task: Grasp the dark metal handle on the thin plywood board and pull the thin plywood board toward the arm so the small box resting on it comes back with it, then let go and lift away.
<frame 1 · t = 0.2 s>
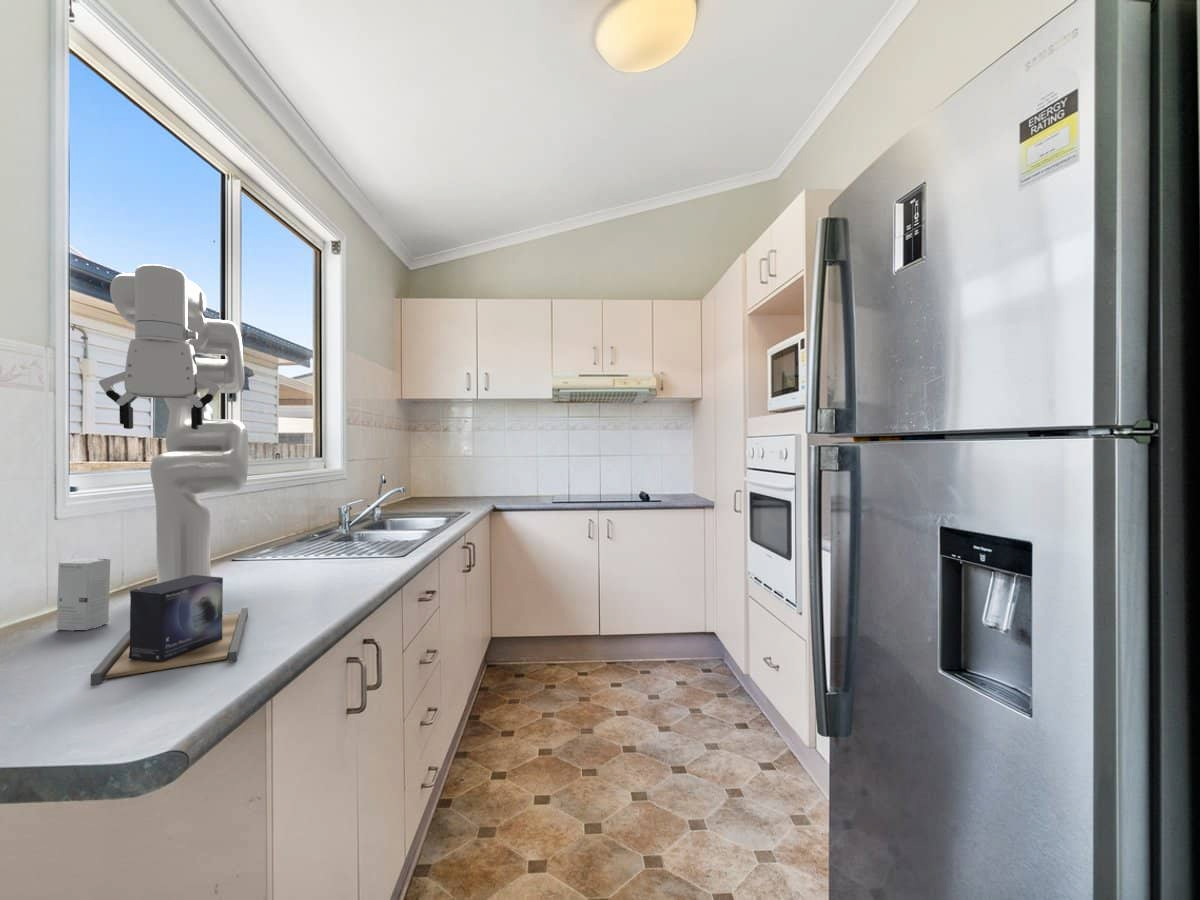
hand: (162, 428, 100), 36 cm above the countertop, tool pointing down, fingers open, 9 cm apart
thin plywood board: (183, 622, 90), point 3 cm above the countertop, slide at 0.2 cm, touching small box
small box: (178, 650, 85), resting on thin plywood board
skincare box: (84, 628, 98), on the countertop
guide rails: (182, 644, 90), on the countertop
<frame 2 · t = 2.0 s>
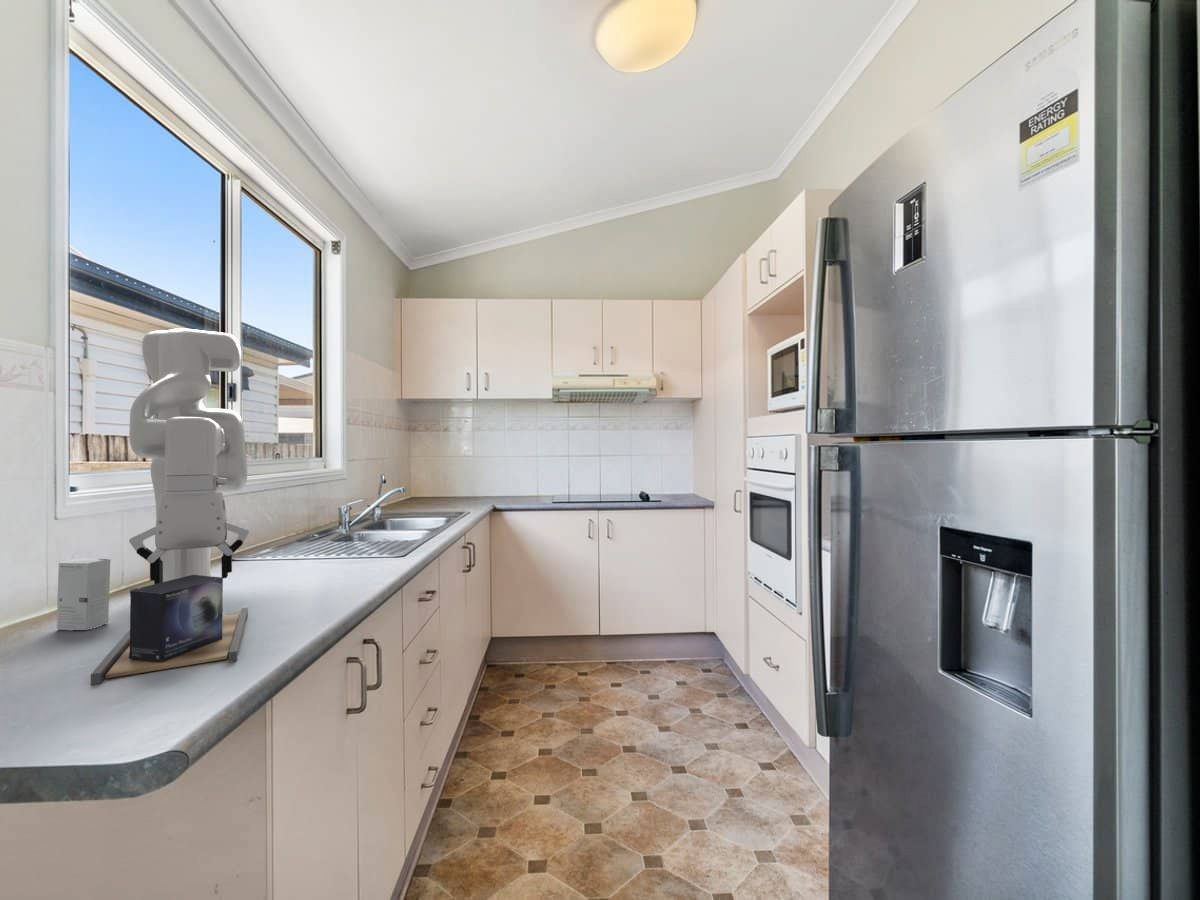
hand: (192, 580, 98), 8 cm above the countertop, tool pointing down, fingers open, 9 cm apart
nothing on the countertop moved.
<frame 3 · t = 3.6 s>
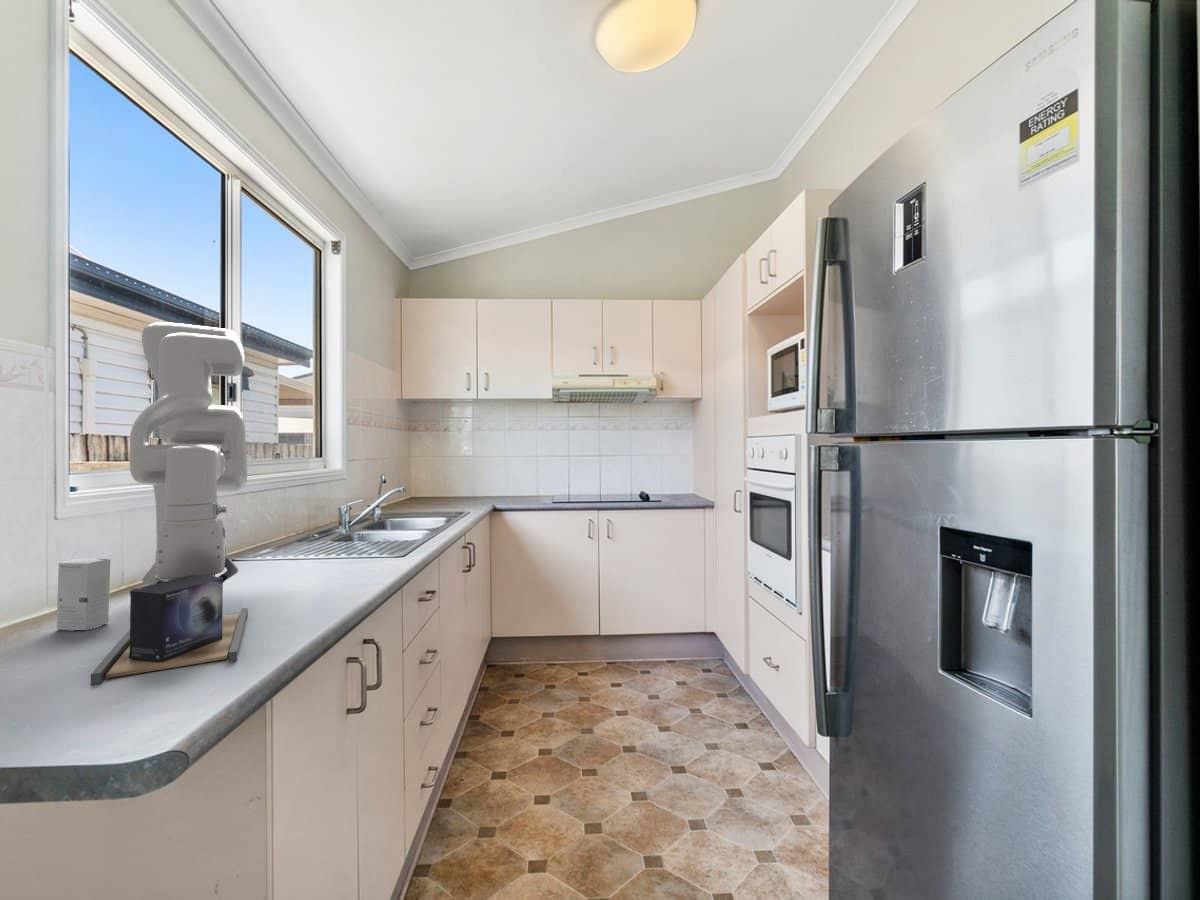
hand: (192, 613, 99), 2 cm above the countertop, tool pointing down, fingers closed on thin plywood board, 4 cm apart
thin plywood board: (183, 622, 90), point 3 cm above the countertop, slide at 0.3 cm, touching gripper, small box
everything else where it was.
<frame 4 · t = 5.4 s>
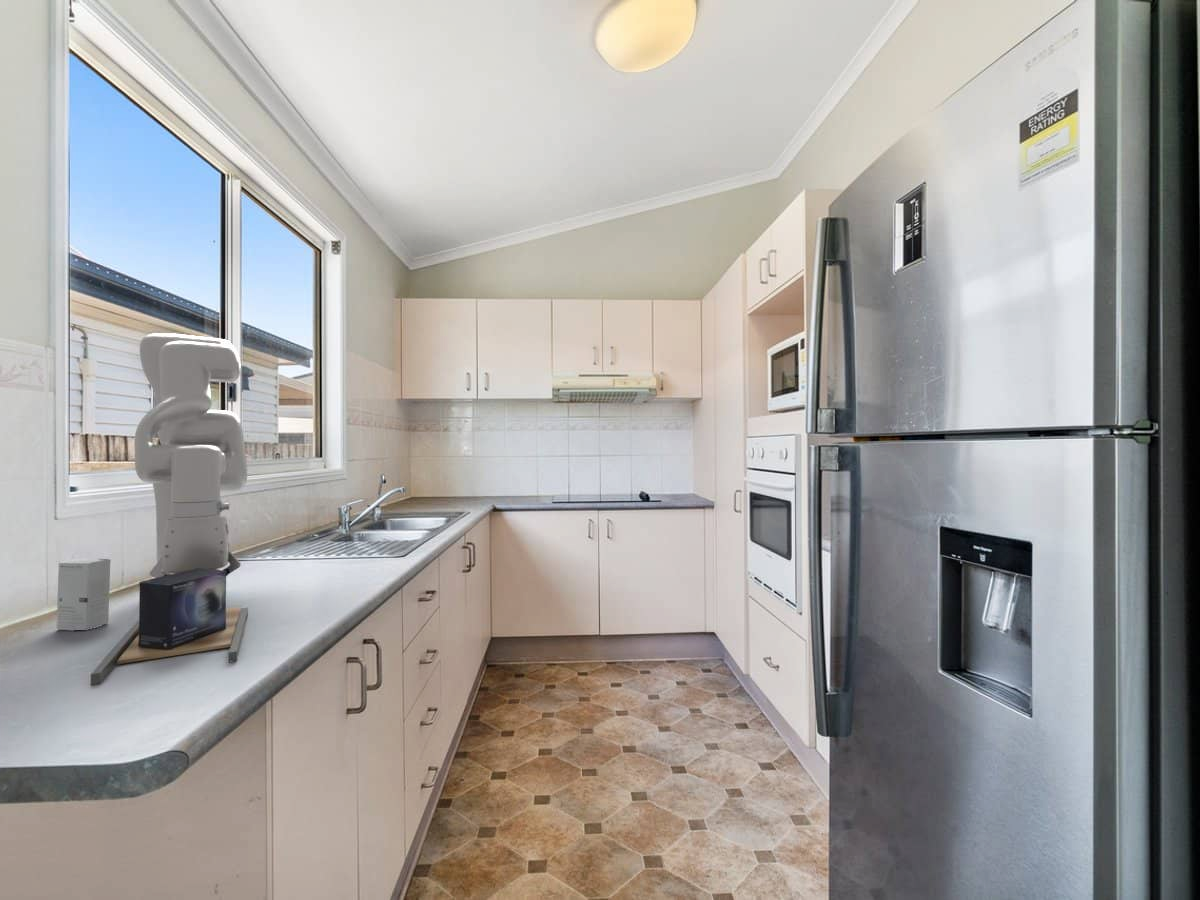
hand: (197, 605, 104), 2 cm above the countertop, tool pointing down, fingers closed on thin plywood board, 4 cm apart
thin plywood board: (188, 613, 95), point 3 cm above the countertop, slide at 6.0 cm, touching gripper, small box
small box: (184, 639, 90), resting on thin plywood board
everything else where it was.
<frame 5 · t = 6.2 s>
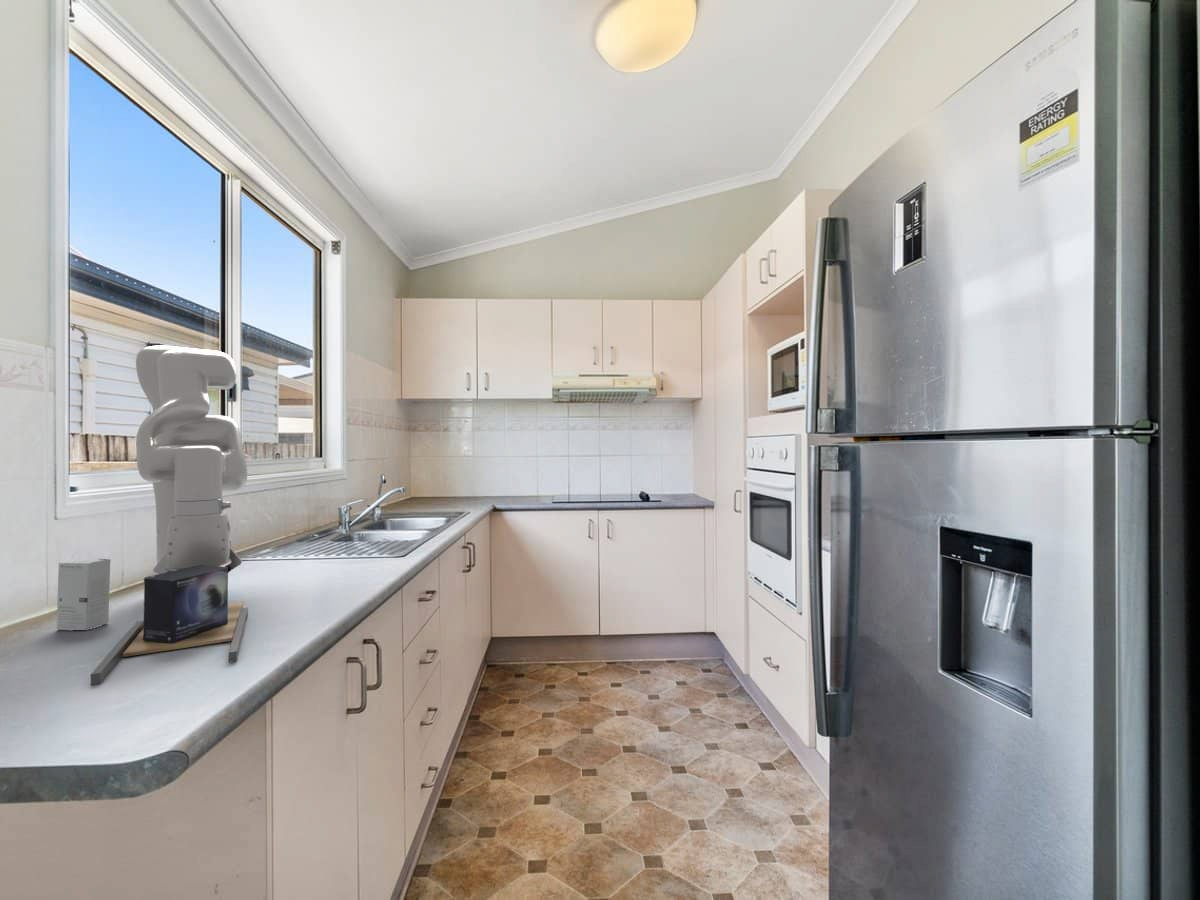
hand: (199, 601, 106), 2 cm above the countertop, tool pointing down, fingers closed on thin plywood board, 4 cm apart
thin plywood board: (191, 608, 98), point 3 cm above the countertop, slide at 9.2 cm, touching gripper, small box
small box: (188, 633, 93), resting on thin plywood board
everything else where it was.
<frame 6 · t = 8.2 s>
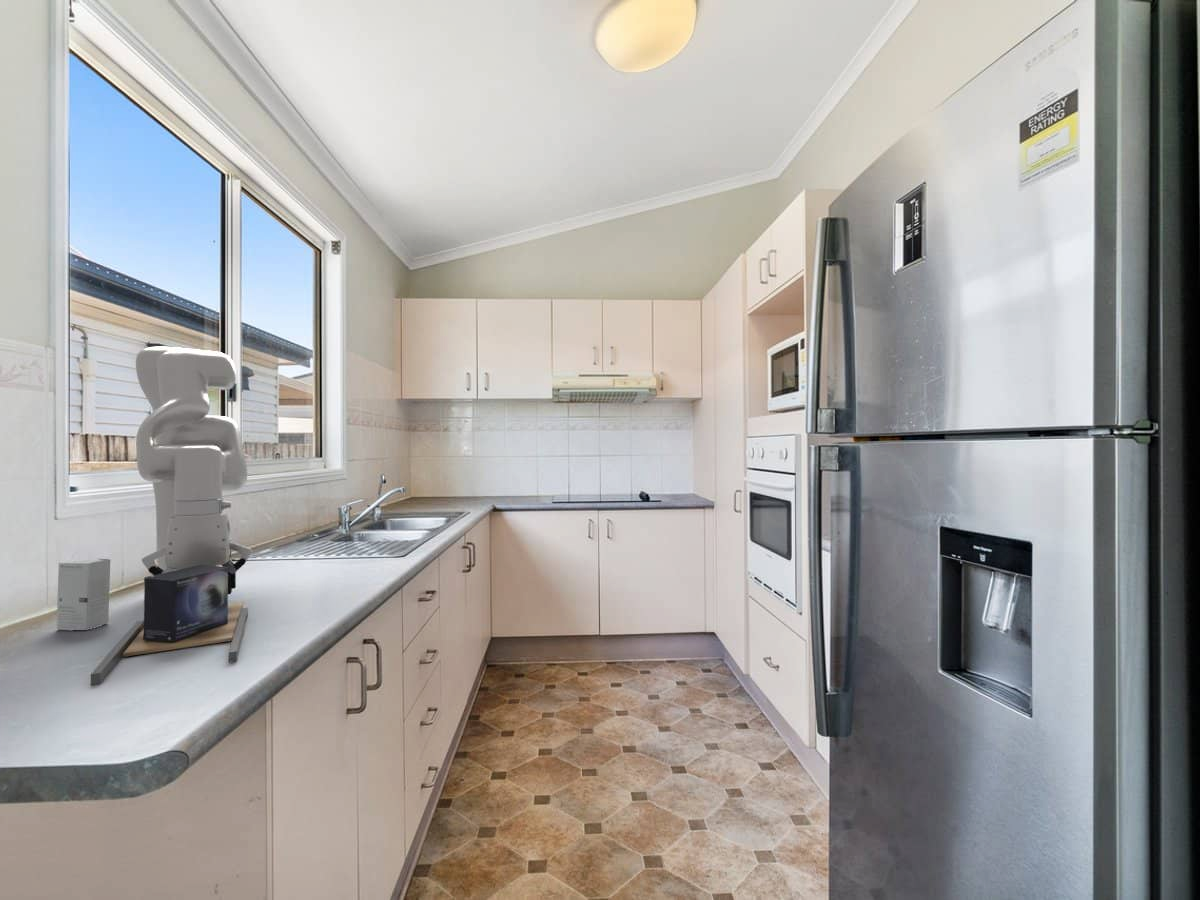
hand: (199, 596, 106), 3 cm above the countertop, tool pointing down, fingers open, 9 cm apart
thin plywood board: (191, 608, 98), point 3 cm above the countertop, slide at 9.3 cm, touching small box
everything else where it was.
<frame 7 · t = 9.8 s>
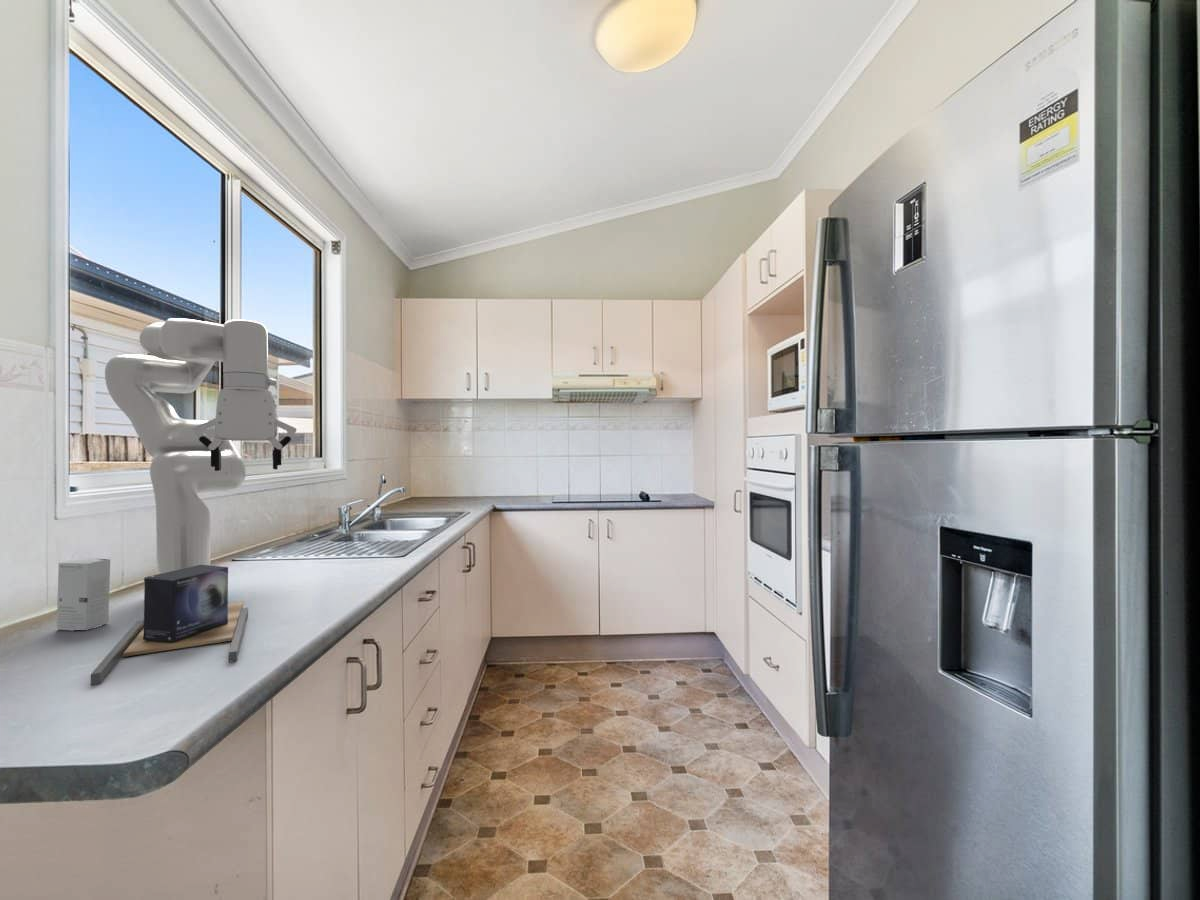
hand: (247, 469, 108), 28 cm above the countertop, tool pointing down, fingers open, 9 cm apart
nothing on the countertop moved.
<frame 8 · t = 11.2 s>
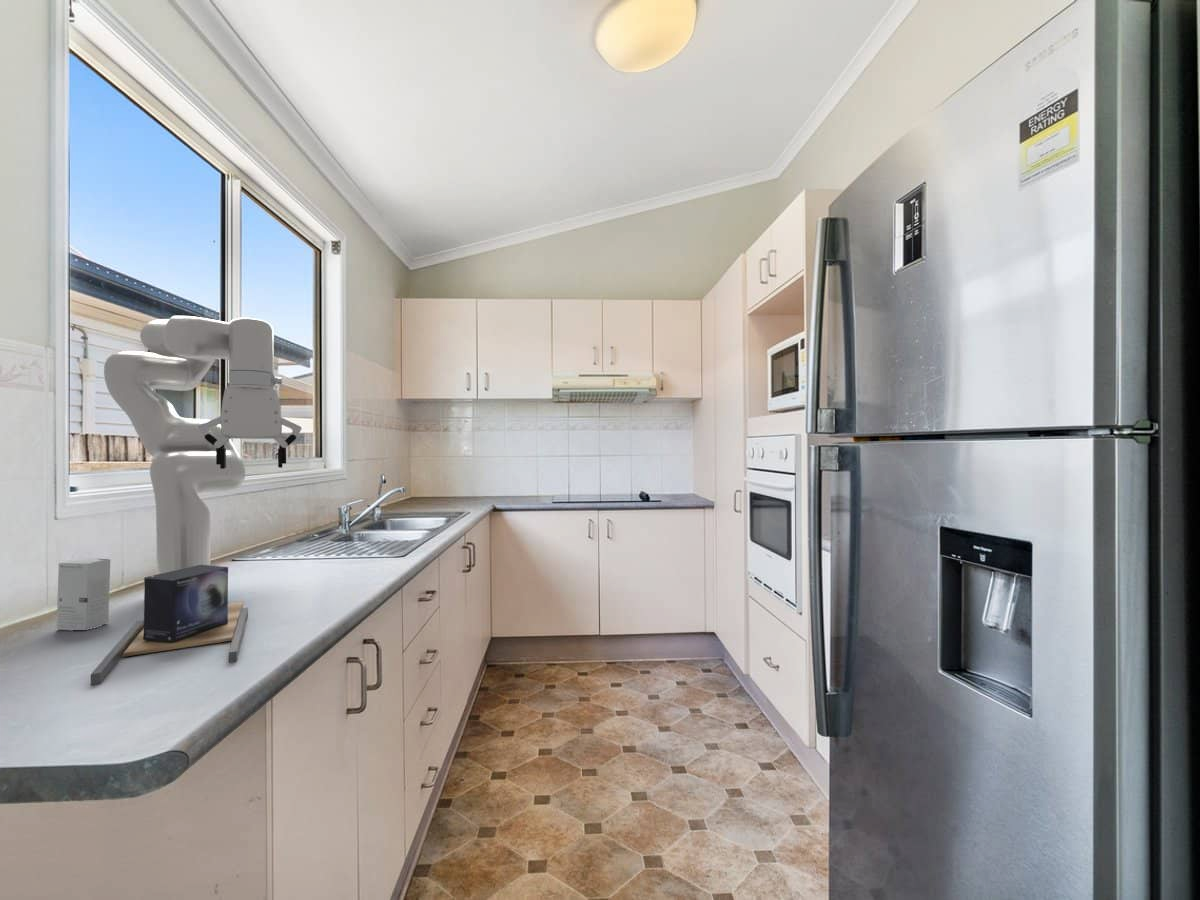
hand: (252, 467, 109), 28 cm above the countertop, tool pointing down, fingers open, 9 cm apart
nothing on the countertop moved.
at the end: thin plywood board slide at 9.3 cm; small box inside the target area (0.4 cm from its centre), point 0.5 cm above the countertop; small box tilted 0° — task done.
